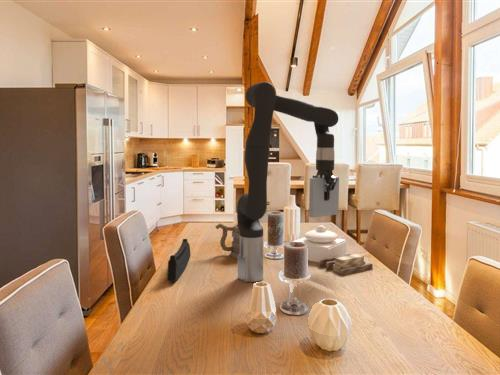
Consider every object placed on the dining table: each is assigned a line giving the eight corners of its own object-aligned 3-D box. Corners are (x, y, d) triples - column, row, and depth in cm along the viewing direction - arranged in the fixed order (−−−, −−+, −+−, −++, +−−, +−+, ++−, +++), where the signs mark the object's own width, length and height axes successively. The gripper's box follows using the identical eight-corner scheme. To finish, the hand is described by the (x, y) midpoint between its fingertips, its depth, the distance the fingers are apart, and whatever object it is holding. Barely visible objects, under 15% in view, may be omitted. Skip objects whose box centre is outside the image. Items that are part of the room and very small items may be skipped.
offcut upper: (341, 266, 168) (342, 260, 168) (335, 264, 171) (335, 258, 171) (363, 262, 174) (363, 256, 174) (356, 259, 178) (356, 253, 177)
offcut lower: (339, 273, 168) (340, 266, 167) (333, 270, 171) (333, 264, 171) (365, 267, 175) (365, 261, 175) (358, 265, 178) (358, 259, 178)
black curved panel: (173, 263, 156) (188, 224, 183) (165, 263, 156) (180, 224, 183) (177, 300, 163) (191, 257, 190) (169, 300, 163) (183, 257, 190)
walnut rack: (340, 279, 165) (340, 268, 164) (317, 269, 177) (317, 259, 176) (373, 271, 174) (373, 261, 173) (348, 263, 186) (349, 253, 185)
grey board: (312, 217, 174) (313, 178, 172) (309, 216, 176) (309, 178, 174) (338, 214, 181) (339, 177, 179) (334, 213, 183) (335, 176, 181)
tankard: (259, 251, 205) (259, 221, 204) (256, 259, 193) (256, 226, 191) (218, 250, 208) (218, 220, 206) (213, 257, 195) (213, 225, 193)
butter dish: (328, 268, 180) (329, 231, 178) (292, 260, 191) (292, 226, 189) (346, 258, 194) (347, 224, 192) (311, 252, 205) (312, 220, 203)
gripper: (307, 158, 180) (306, 198, 182) (329, 159, 168) (328, 202, 170) (321, 157, 183) (320, 197, 185) (343, 159, 172) (342, 201, 174)
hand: (324, 199), depth 178 cm, fingers closed on grey board, 2 cm apart
